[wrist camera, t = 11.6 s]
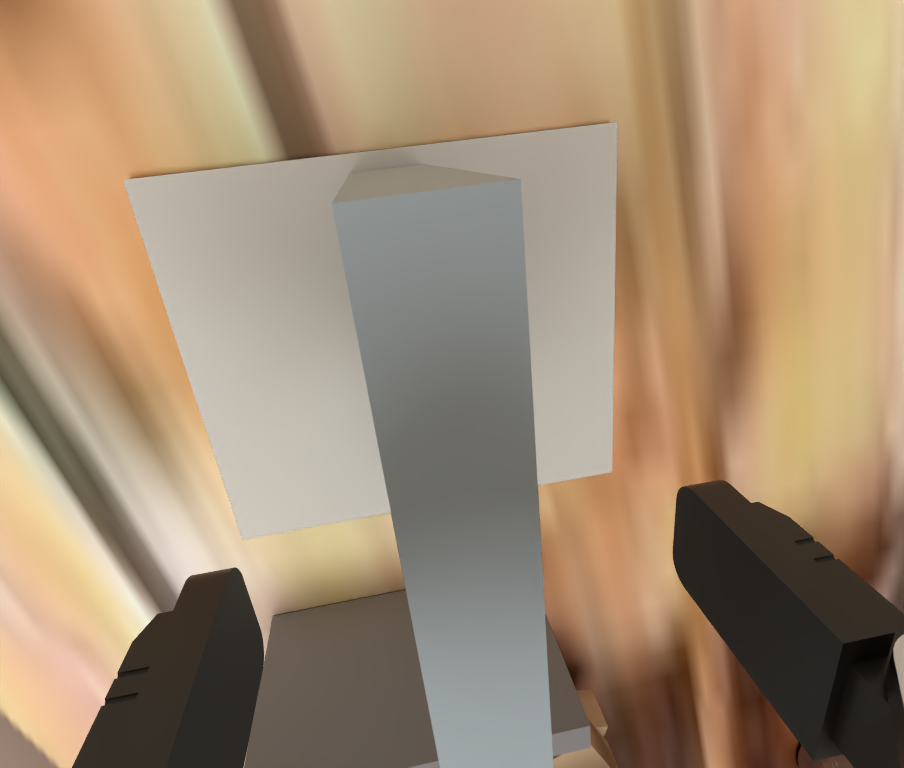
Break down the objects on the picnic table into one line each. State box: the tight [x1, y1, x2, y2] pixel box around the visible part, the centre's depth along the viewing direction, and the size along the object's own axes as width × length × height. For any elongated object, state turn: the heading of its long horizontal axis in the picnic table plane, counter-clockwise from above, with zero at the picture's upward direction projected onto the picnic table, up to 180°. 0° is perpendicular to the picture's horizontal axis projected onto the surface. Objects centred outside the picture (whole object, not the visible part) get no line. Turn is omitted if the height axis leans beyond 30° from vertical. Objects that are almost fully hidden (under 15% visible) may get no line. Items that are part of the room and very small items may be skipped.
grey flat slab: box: [332, 164, 553, 768], centre depth 15 cm, size 2×13×12 cm, turn 6°
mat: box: [123, 122, 617, 540], centre depth 21 cm, size 16×14×1 cm
